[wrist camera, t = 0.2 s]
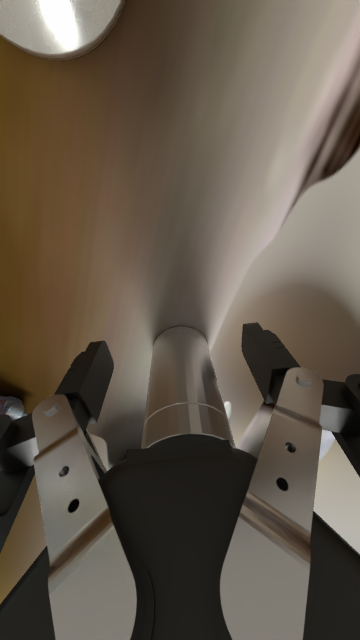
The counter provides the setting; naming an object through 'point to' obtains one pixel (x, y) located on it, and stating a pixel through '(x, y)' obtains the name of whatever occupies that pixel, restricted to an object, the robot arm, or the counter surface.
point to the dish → (58, 26)
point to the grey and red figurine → (12, 407)
